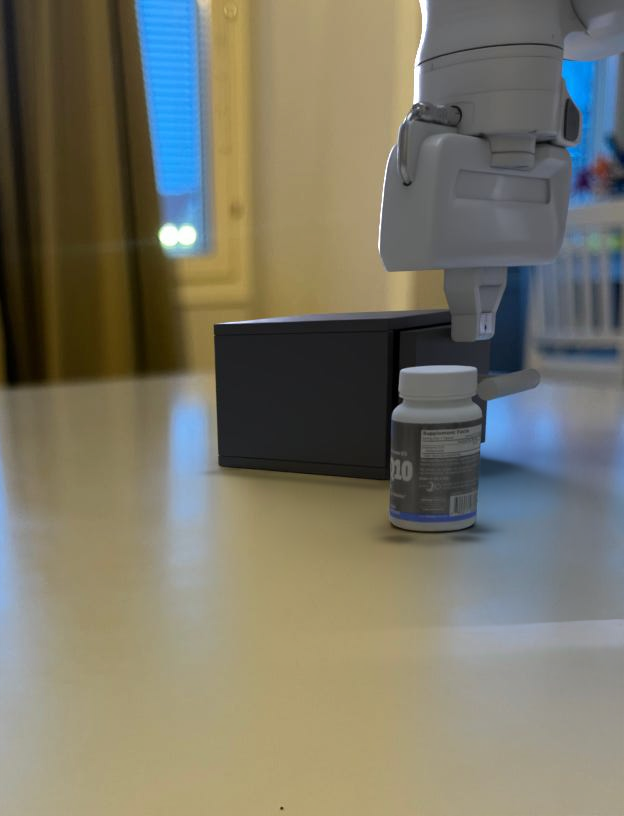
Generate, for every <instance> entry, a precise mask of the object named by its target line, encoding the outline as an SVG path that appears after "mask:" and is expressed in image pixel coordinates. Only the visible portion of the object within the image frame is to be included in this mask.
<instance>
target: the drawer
mask: <svg viewBox="0 0 624 816" xmlns="http://www.w3.org/2000/svg"><path fill="white" fill-rule="evenodd" d="M491 339H492V337H491V338H490V339H486V340H478V341H474V342H455V341H453V340H452V338H451V325H433V326H419V327H412V328H405V329H398V330H393V376H392V413H393V411H394V409H395V408H396V407H397V406H399V405H400V404H402V403H403V398H401V397H400V396H399V394H400V392H399V391H398V388H399V378H400V371H401V370H402V369H405V368H410V367H420V366H450V365H452V366H470V367H475V368H477V390H476V395H474V396H472V398H471V399H472V402H474V403H475V404H477V405H478V406H479V407H480V409H481V411H482V417H483V419H482V428H481V443H480V445H482V444H484V443H486V433H487V414H488V413H487V412H488V402H490V401H493V400H496V399H500V398H504V397H508V396H511V395H516V394H519V393H522V392H526V391H530V390H533V389H536V388H537V387H538V386H539V384H540V383H541V373H540V372H539V371H538V370H537V369H535V368H527V369H522V370H518V371H514V372H510V373H505V374H490V358H491V357H490V356H491V341H492V340H491Z"/></svg>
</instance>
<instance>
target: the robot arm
mask: <svg viewBox="0 0 624 816" xmlns="http://www.w3.org/2000/svg"><path fill="white" fill-rule="evenodd" d="M418 1H419V5H420V9H421V10H420V11H421V17H422V29H421V39H420V41H419V42H420V43H419V47H418V49H417V53H416V57H415V61H414V78H413V79H414V81H413V82H414V85H413V104H412V106H411V107H410V109H409V112H408V113H407V115H406V116H405V118H404V121H402V122H400V125H399V128H398V133H397V142H396V143H395V144H394V145H393V147H392V148H391V151H390V153H389V155H388V159H387V163H386V168H385V174H384V181H383V189H382V198H381V207H380V208H381V209H380V219H379V220H380V221H379V232H378V233H379V234H378V253H379V258H380V260H381V262H382V265H383V268H384V270H385V271H386V272H388V273H394V272H395V273H397V272H420V271H421V272H422V271H443V289H442V290H443V292H444V295H445V299H446V303H447V306H448V309H449V310H450V313H451V315H452V321H451V338H452V340H453V341H455V342H474V341H478V340H486V339H490V338H491V339H492V338H493V337H494V335H495V331H496V317H497V316H496V314H497V311H498V309H499V306H500V303H501V301H502V298H503V296H504V293H505V290H506V287H507V281H508V268H514V267H515V268H516V267H536V266H546V265H552V264H554V263H555V262H556V260H557V258H558V256H559V254H560V252H561V249H562V246H563V242H564V239H565V233H566V227H567V219H568V215H569V214H568V212H569V204H570V197H571V187H572V177H573V161H572V155H571V153H570V151H569V150H568V149H569V148H574V147H577V146H578V145H580V143H581V140H582V135H583V123H584V119H583V113H582V111H581V110H580V108H579V107H578V105H577V104H576V103H575V101H574V99H573V98H572V97H571V95H570V92H569V90H568V87H567V81H566V79H565V78H564V76H563V66H564V65H563V64H564V61H567V62H593V61H600V60H604V59H607V58H610V57H613V56H616V55H620V54H622V53H623V54H624V0H418ZM567 148H568V149H567Z"/></svg>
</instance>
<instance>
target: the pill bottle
mask: <svg viewBox="0 0 624 816" xmlns="http://www.w3.org/2000/svg"><path fill="white" fill-rule="evenodd" d="M476 390H477V368H475V367H470V366H452V365H450V366H420V367H410V368H405V369H402V370H401V371H400V378H399V388H398V391H399V392H400V394H399V396H400V397H401V398H403V403H402V404H400V405H399V406H397V407H396V408H395V409H394V411H393V413H392V421H391V463H390V478H389V507H388V511H389V512H388V513H389V515H388V516H389V521H390V522H391V524H392V525H394V526H395V527H397V528H400V529H403V530H408V531H415V532H449V531H451V532H452V531H458V530H463V529H466V528H469V527H471V526H472V525H474V523H475V522H476V519H477V515H478V503H479V498H478V497H479V481H480V479H479V477H480V459H481V444H482V443H481V428H482V419H483V417H482V411H481V409H480V407H479V406H478V405H477V404H475V403H474V402H472V399H471V398H472V396H474V395H476ZM480 443H481V444H480Z"/></svg>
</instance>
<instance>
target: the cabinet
mask: <svg viewBox="0 0 624 816" xmlns="http://www.w3.org/2000/svg"><path fill="white" fill-rule="evenodd" d="M451 321H452V315H451V313H450V310H449V308H437V309H436V308H435V309H411V310H410V309H409V310H386V311H383V310H382V311H381V310H380V311H359V312H358V311H355V312H333V313H307V314H298V315H288V316H287V315H286V316H278V317H269V318H259V319H250V320H249V319H248V320H239V321H230V322H222V323H214V324H213V349H214V372H215V373H214V374H215V375H214V377H215V378H214V379H215V405H216V406H215V407H216V409H215V410H216V431H217V432H216V435H217V436H216V437H217V455H218V456H217V463H218V466H220V467H229V468H230V467H231V468H243V469H253V470H267V471H277V472H289V473H291V472H292V473H302V474H313V475H323V476H324V475H325V476H337V477H348V478H350V477H351V478H359V479H374V480H382V481H383V480H384V481H385V480H388V479H390V463H391V421H392V376H393V330H398V329H405V328H412V327H419V326H433V325H451Z"/></svg>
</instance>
